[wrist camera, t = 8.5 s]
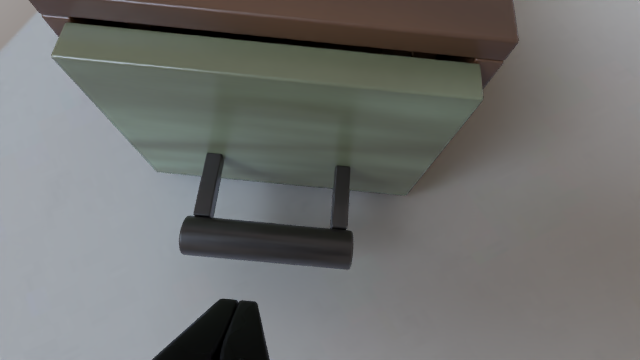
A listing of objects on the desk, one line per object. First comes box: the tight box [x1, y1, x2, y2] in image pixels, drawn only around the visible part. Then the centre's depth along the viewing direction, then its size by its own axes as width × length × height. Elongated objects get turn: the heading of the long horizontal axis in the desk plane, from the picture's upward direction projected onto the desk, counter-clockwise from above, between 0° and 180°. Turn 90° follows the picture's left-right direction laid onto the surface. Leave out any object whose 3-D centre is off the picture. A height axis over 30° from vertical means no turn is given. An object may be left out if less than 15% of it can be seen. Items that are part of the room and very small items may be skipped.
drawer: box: [51, 22, 483, 270], centre depth 15 cm, size 16×11×8 cm
